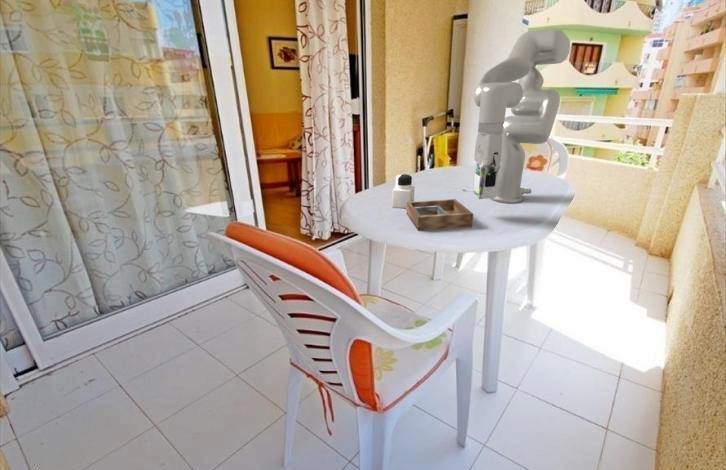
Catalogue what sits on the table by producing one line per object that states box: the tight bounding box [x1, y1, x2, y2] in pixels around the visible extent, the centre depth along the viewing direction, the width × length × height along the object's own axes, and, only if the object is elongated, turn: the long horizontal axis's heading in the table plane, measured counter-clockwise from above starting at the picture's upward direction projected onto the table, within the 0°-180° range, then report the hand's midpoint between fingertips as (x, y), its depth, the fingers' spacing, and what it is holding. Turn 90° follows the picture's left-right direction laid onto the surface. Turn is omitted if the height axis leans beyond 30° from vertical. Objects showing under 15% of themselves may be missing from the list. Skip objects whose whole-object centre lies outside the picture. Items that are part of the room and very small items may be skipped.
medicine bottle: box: [391, 173, 415, 209], centre depth 130 cm, size 7×7×12 cm
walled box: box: [406, 198, 474, 232], centre depth 116 cm, size 18×16×4 cm
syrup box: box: [473, 161, 499, 200], centre depth 112 cm, size 6×6×14 cm
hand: (485, 183), depth 113 cm, fingers closed on syrup box, 5 cm apart
